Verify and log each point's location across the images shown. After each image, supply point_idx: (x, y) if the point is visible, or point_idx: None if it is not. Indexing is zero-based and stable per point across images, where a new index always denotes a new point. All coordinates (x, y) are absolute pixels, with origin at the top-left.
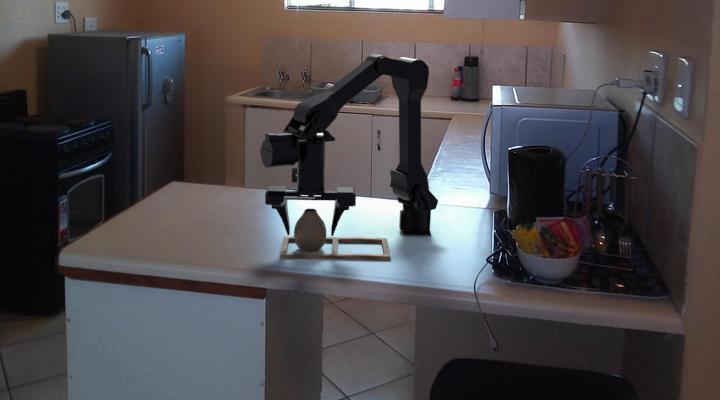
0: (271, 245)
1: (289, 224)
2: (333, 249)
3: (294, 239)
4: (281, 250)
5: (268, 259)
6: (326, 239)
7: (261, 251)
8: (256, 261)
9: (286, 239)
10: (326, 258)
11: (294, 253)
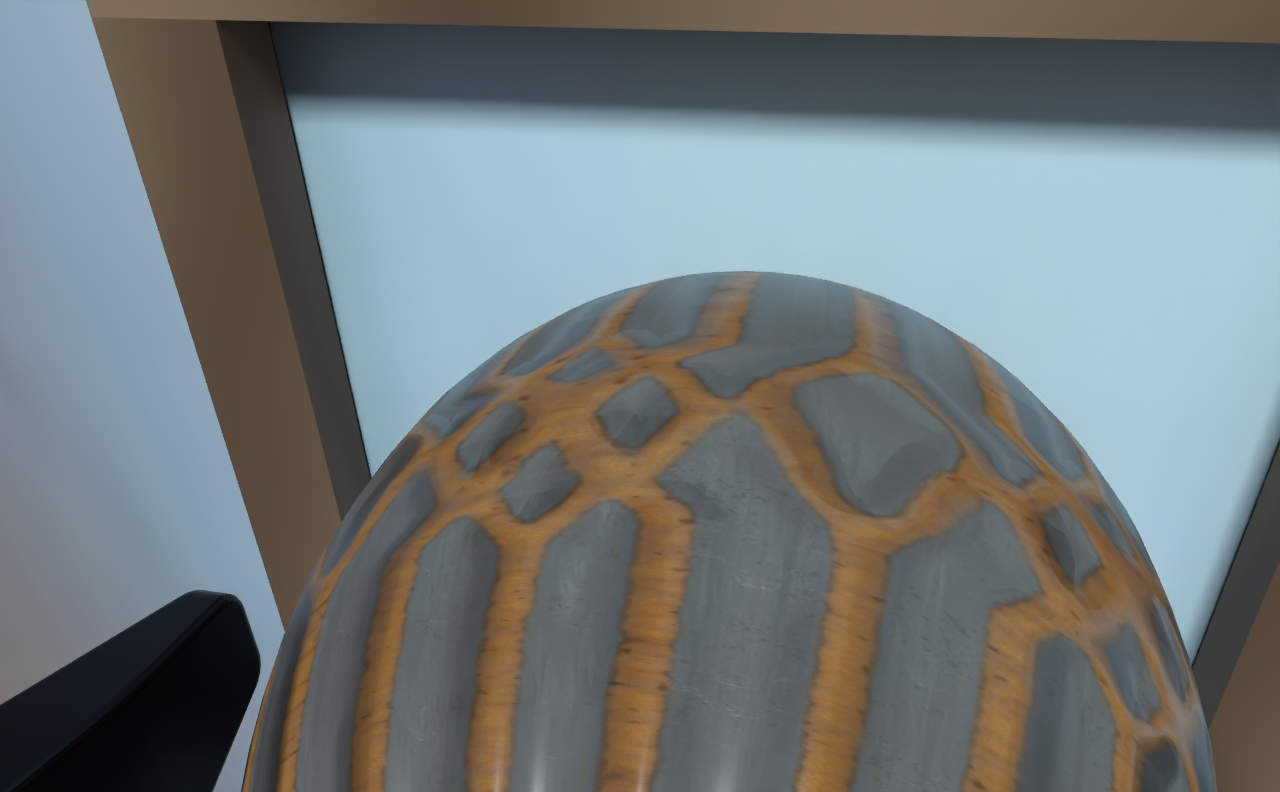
0: (31, 235)
1: (75, 765)
2: (1228, 731)
3: (365, 15)
4: None
5: (234, 744)
6: (1273, 30)
7: (22, 495)
8: None
9: (197, 121)
10: None
11: None
